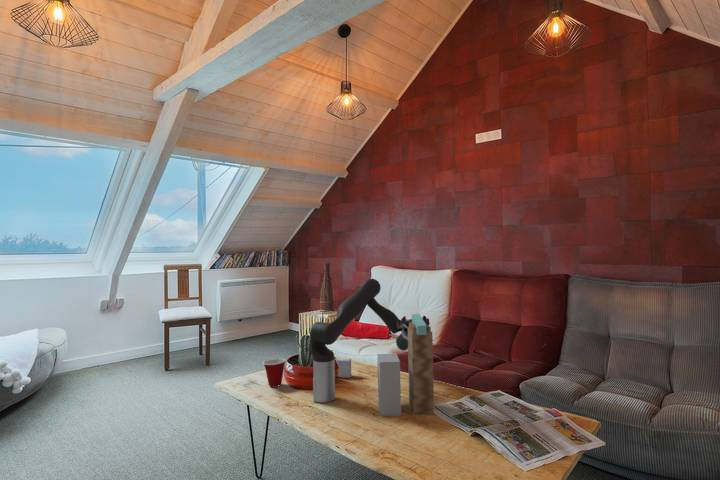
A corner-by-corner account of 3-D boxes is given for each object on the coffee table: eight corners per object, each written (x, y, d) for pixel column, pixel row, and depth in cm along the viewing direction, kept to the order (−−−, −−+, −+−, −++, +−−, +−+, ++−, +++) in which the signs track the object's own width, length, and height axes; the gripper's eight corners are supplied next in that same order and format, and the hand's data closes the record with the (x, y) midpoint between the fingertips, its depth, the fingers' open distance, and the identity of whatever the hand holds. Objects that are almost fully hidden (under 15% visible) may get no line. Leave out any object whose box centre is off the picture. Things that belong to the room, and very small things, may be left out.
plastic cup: (275, 380, 209) (274, 356, 209) (290, 384, 203) (290, 359, 203) (258, 386, 200) (257, 361, 200) (274, 390, 194) (273, 364, 194)
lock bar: (417, 335, 160) (417, 325, 160) (411, 322, 186) (411, 314, 186) (426, 334, 160) (426, 325, 160) (419, 321, 186) (419, 314, 186)
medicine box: (351, 375, 214) (351, 358, 214) (350, 378, 210) (350, 360, 210) (336, 375, 215) (336, 358, 215) (335, 377, 211) (334, 360, 211)
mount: (413, 415, 163) (411, 328, 164) (409, 403, 175) (407, 322, 176) (434, 414, 164) (432, 327, 164) (428, 402, 176) (426, 321, 176)
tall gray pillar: (380, 416, 163) (379, 362, 163) (378, 404, 175) (377, 354, 175) (401, 415, 163) (399, 361, 163) (397, 403, 175) (396, 353, 175)
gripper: (394, 322, 197) (397, 310, 183) (424, 321, 197) (430, 309, 183) (395, 338, 193) (399, 326, 179) (426, 337, 193) (432, 325, 179)
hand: (414, 318), depth 181 cm, fingers open, 8 cm apart
